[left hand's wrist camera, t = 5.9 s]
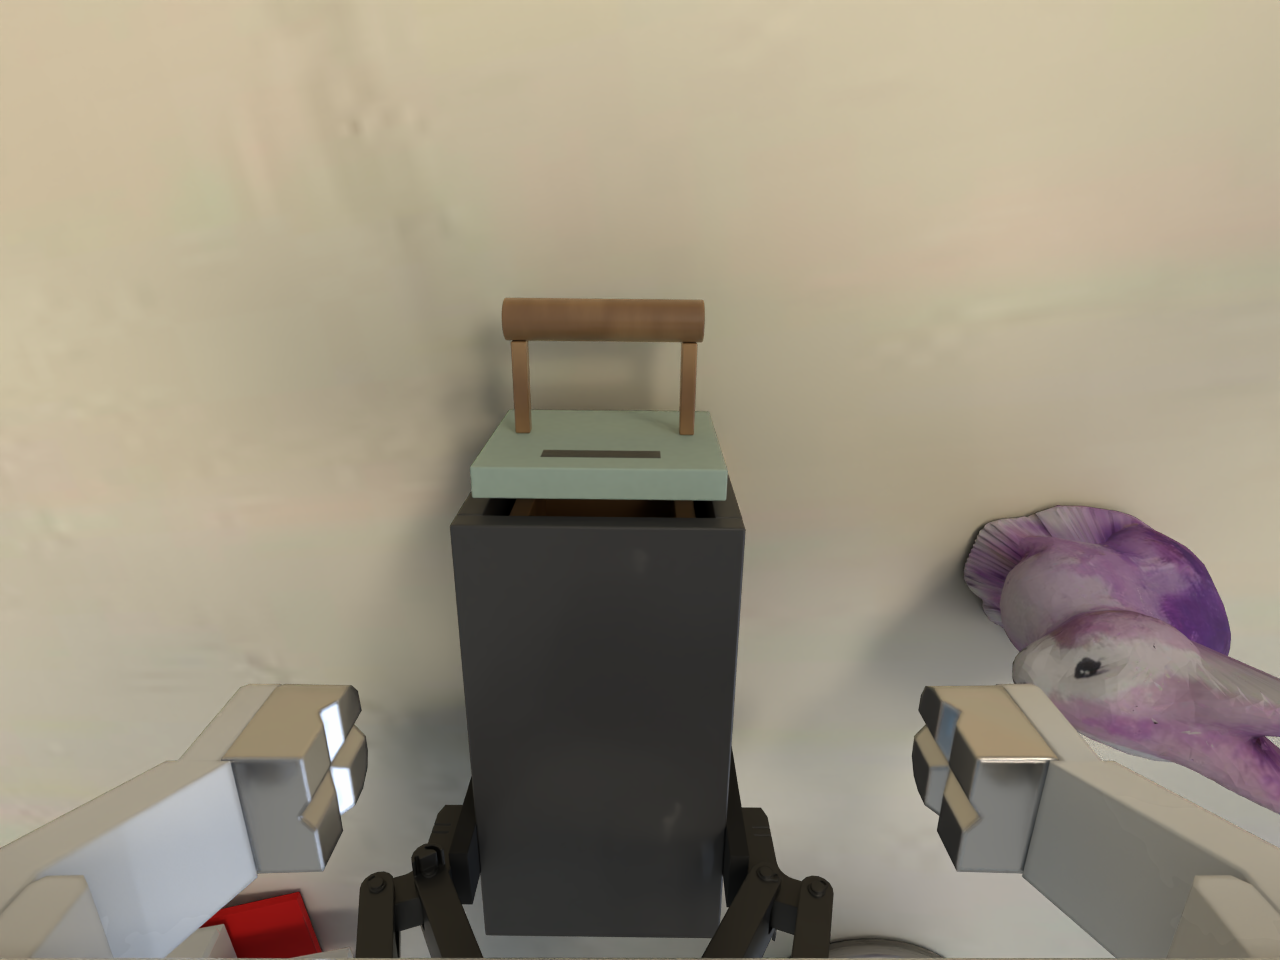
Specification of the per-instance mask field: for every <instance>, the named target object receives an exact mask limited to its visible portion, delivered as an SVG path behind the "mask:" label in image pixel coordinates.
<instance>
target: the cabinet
mask: <svg viewBox="0 0 1280 960" xmlns="http://www.w3.org/2000/svg"><path fill="white" fill-rule="evenodd" d="M516 499H517V498H473V497H472V491H471V493H470V494H469V496H468V497H467V499H466V501H465V502H464V504H463V506H462V507H461V509H460V510H459V512H458V514H457V516H456V517H455V519H454V520H453V522H452V523H451V525H450V533H451V544H452V556H453V567H454V579H455V590H456V601H457V613H458V624H459V636H460V647H461V658H462V670H463V681H464V693H465V704H466V715H467V727H468V738H469V750H470V761H471V772H472V784H473V795H474V807H475V818H476V828H477V840H478V851H479V862H480V875H481V886H482V898H483V909H484V920H485V932H486V935H510V936H589V937H667V938H713V936H714V934H715V932H716V930H717V929H718V927H719V925H720V914H721V899H722V883H723V866H724V850H725V835H726V822H727V806H728V791H729V776H730V760H731V745H732V730H733V714H734V699H735V683H736V668H737V653H738V637H739V622H740V607H741V591H742V576H743V560H744V545H745V527H744V524H743V521H742V516H741V513H740V510H739V507H738V504H737V501H736V497H735V494H734V491H733V488H732V485H731V482H730V478H729V475H728V477H727V496H726V500H725V501H704V500H693V502H694V508H695V514H696V518H656V517H567V516H509V515H510V512H511V510H512V508H513V506H514V503H515V501H516Z"/></svg>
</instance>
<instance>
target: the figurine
mask: <svg viewBox="0 0 1280 960" xmlns="http://www.w3.org/2000/svg"><path fill="white" fill-rule="evenodd" d="M964 580H965V582H966V584H967V586H968V587H969V589H970V590H971V591H972V592H973V593H974V594H975V595H977V596H978V597H979V598H981V599H982V600H983V604H982V606H983V610H984V612H985V614H986V615H987V617H988V618H989V620H990V621H993V622H994V623H995V624H998V625H1000V626H1001V627H1002V628H1004V629H1005V632H1006V634H1007V636H1008V638H1009V639H1010V641H1011V642H1012V643H1013V645H1014V646H1015V647H1016V648H1017V649H1018V650H1019V651H1020V652H1019V654H1018V655H1017V656H1016V657H1015V660H1014V662H1013V668H1012V678H1013V681H1014V684H1029V683H1031V684H1033V685H1035V686H1037V687H1039V688H1041V690H1042V691H1043V692H1044V693H1045V694H1046V696H1047V697H1048V698H1049V699H1050V700H1051V701H1052V703H1053V704H1054V705H1055V706H1056V707H1057V708H1058V710H1059V711H1060V712H1061V713H1062V714H1063V715H1064V717H1065V718H1066V719H1067V720H1068V721H1069V723H1070V724H1071V725H1072V726H1073V727H1074V728H1075V730H1076V731H1077V732H1078V733H1081V734H1083V735H1085V736H1086V737H1088V738H1090V739H1092V740H1095V741H1097V742H1100V743H1103V744H1105V745H1108V746H1110V747H1112V748H1115V749H1117V750H1119V751H1122V752H1125V753H1127V754H1130V755H1134V756H1138V757H1142V758H1146V759H1150V760H1154V761H1165V762H1174V763H1177V764H1180V765H1182V766H1185V767H1187V768H1189V769H1191V770H1194V771H1196V772H1198V773H1200V774H1202V775H1203V776H1205V777H1207V778H1209V779H1211V780H1213V781H1215V782H1216V783H1218V784H1220V785H1222V786H1223V787H1225V788H1227V789H1229V790H1231V791H1233V792H1235V793H1237V794H1238V795H1240V796H1243V797H1245V798H1247V799H1249V800H1250V801H1252V802H1254V803H1256V804H1258V805H1260V806H1262V807H1265V808H1268V809H1270V810H1271V811H1273V812H1275V813H1278V814H1280V749H1279V748H1278V747H1277V746H1276V745H1274V744H1273V743H1272V742H1271V741H1270V740H1269V739H1267V738H1266V737H1265V736H1276V737H1280V679H1279V678H1277V677H1274V676H1272V675H1270V674H1267V673H1265V672H1263V671H1261V670H1258V669H1256V668H1254V667H1251V666H1249V665H1247V664H1245V663H1242V662H1240V661H1238V660H1235V659H1233V658H1231V657H1228V653H1229V650H1230V642H1231V633H1230V627H1229V622H1228V618H1227V615H1226V612H1225V608H1224V605H1223V602H1222V600H1221V598H1220V596H1219V594H1218V592H1217V590H1216V587H1215V585H1214V583H1213V581H1212V579H1211V577H1210V575H1209V573H1208V571H1207V569H1206V567H1205V565H1204V564H1203V563H1202V562H1201V561H1200V560H1199V559H1198V558H1197V557H1196V556H1195V554H1194V553H1193V552H1191V551H1190V550H1189V549H1188V548H1187V547H1186V546H1184V545H1182V544H1180V543H1179V542H1177V541H1175V540H1173V539H1171V538H1169V537H1167V536H1166V535H1164V534H1162V533H1160V532H1157V531H1155V530H1154V529H1152V528H1151V527H1150V526H1148V525H1146V524H1145V523H1143V522H1142V521H1140V520H1139V519H1137V518H1136V517H1134V516H1131V515H1128V514H1125V513H1122V512H1118V511H1113V510H1106V509H1099V508H1092V507H1086V506H1060V505H1057V506H1055V507H1052V508H1049V509H1046V510H1043V511H1040V512H1037V513H1035V514H1032V515H1030V516H1028V517H1025V516H1023V517H1020V518H1008V519H1000V520H996V521H993V522H989V523H987V524H986V525H985V527H984V528H983V529H982V530H980V531H979V535H977V539H976V540H975V544H973V548H972V549H971V553H970V554H969V557H968V558H967V562H966V563H965V569H964Z"/></svg>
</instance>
